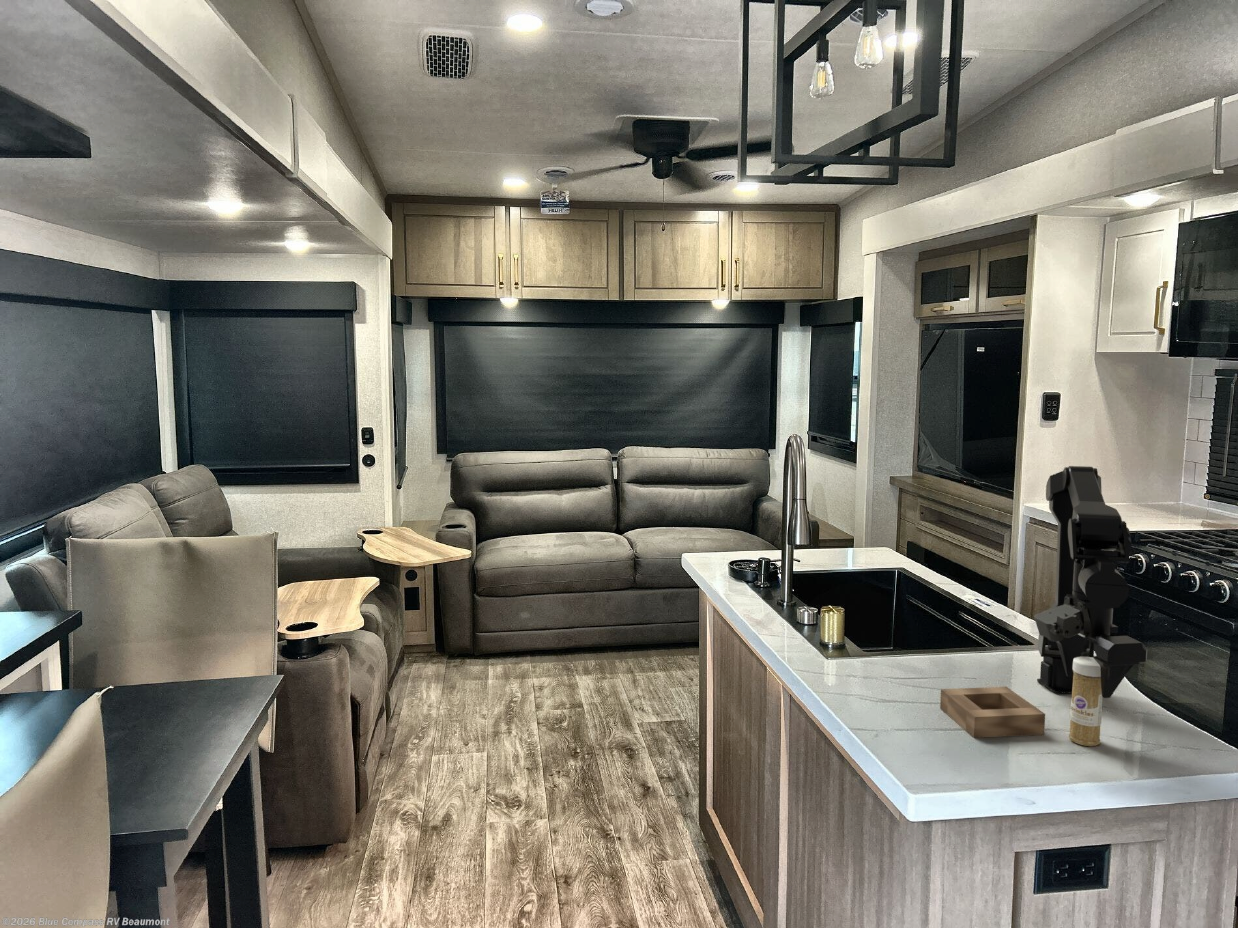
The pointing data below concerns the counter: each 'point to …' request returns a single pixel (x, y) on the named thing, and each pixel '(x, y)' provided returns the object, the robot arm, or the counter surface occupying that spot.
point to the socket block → (992, 712)
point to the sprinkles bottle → (1086, 702)
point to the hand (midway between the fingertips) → (1087, 686)
